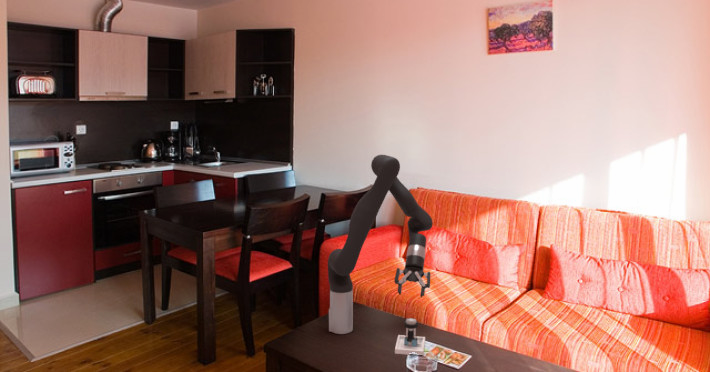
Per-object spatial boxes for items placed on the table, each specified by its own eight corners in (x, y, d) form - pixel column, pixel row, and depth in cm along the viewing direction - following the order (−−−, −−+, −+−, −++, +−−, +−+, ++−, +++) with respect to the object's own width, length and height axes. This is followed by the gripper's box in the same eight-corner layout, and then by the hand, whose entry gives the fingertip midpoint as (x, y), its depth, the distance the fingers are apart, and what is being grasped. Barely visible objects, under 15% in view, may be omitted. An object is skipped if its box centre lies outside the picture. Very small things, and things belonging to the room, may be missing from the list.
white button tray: (394, 353, 199) (394, 349, 199) (398, 339, 211) (398, 334, 211) (423, 355, 197) (423, 351, 197) (425, 341, 209) (425, 337, 209)
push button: (422, 343, 206) (423, 318, 205) (419, 349, 201) (420, 324, 200) (405, 341, 208) (405, 316, 207) (402, 346, 203) (402, 321, 202)
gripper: (397, 252, 220) (392, 289, 212) (432, 256, 217) (428, 294, 209) (398, 260, 226) (393, 296, 218) (432, 263, 224) (428, 300, 215)
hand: (410, 295), depth 213 cm, fingers open, 8 cm apart
